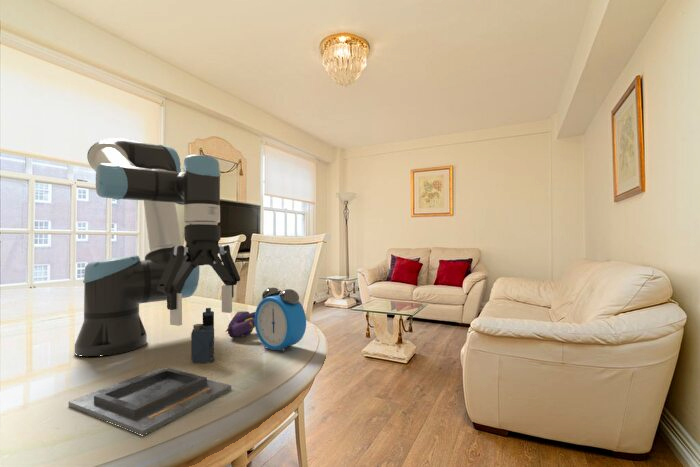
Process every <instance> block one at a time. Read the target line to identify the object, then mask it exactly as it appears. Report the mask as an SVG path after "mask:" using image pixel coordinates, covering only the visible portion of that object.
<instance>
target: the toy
mask: <svg viewBox="0 0 700 467" xmlns="http://www.w3.org/2000/svg"><path fill="white" fill-rule="evenodd" d="M255 312H256V311H254V312H251V313H250V311H243V310H242V311H237V312H236V313H235V314H234V316H233V318H231V320H230V322H229V323H228V325H227V329H226V330H225V331H224V332H225V333H226V332H227V334H228V336H229V337H230V338H232V339H238V338H239V339H240V338H243V337H244V336H249V335H251V333H252V332H253V330H254V329H256V328H255Z"/></svg>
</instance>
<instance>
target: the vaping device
mask: <svg viewBox="0 0 700 467" xmlns="http://www.w3.org/2000/svg"><path fill="white" fill-rule="evenodd" d="M214 318H215V311H213V310H212V308H211V307H206V308H205V311H203V312H202V323H196V324H193V328H192V332H191V333H190V335H191V336H190V342H191V343H190V345H191V346H190V348H191V349H190V350H191V351H190V353H191V354H190V355H191V357H190V358H191V359H190V360H191V361H192V363H193V364H195V363H196V364H210V363H212V362H214V361H215V319H214Z"/></svg>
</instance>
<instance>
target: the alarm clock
mask: <svg viewBox="0 0 700 467" xmlns="http://www.w3.org/2000/svg"><path fill="white" fill-rule="evenodd" d="M254 312H255V328H254V329H255V332H256V335H257V337H258V339H259V341H260V342H261V344H262V345H264V346H263V348H264V349H265V348H267V349H269V350H271V351H281V352H282V353H283V352H284V353H285V348H288V347H291V346H293V345H295V344H298V343H299V342H300V341H301V340H302V339H303V337H304V335H305V333H306V329H307V316H306V313H305V312H306V311H305V308H304V306H303V305H302V303H301V301H300V295H299V293H298V292H297V291H296V290H294V289H291V288H286V289H283V290H280V289H279V288H277V287H273V286H272V287H267V288H266V289H265V290H264V291H263V292H262V294H261V301H260V302H259V303H258V305H257V307H256V309H255V311H254Z"/></svg>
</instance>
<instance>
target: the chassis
mask: <svg viewBox="0 0 700 467" xmlns="http://www.w3.org/2000/svg"><path fill="white" fill-rule="evenodd" d="M229 391H232V385H231V384H228V383H223V382H219V381H216V380H212V379H208V377H205V376H202V375H199V374H193V373H189V372H186V371H181V370H177V369H174V368H169V367H167V368H162V367H159V368H157V369H154V370H152V371H151V370H150V371H149V372H145V373H143V374H140V375H138V376H135V377H132V378H129V379H127V380H123V381H120V382H118V383H115V384H113V385H109V386H107V387H104V388H101V389H99V390H97V391H94V392H91V393H89V394H86V395H82V396H79V397H77V398H75V399H71V400H69V401H68V408H69V407H70V408H71V407H72V409H75V410H76V411H79V412H80V413H81V412H82V413H84V414H86V413H87V414H86V415H89V414H90V415H89V416H91V415H92V416H91V417H93V416H94V417H93V418H96V417H97V418H96V419H98V418H100V419H99V420H101V419H103V420H105V421H104V422H106V421H108V422H111V423H113V424H116V425H119V426H121V427H123V428H126V429H128V430H131V431H133V432H136V433H138V434H141V435H145V434H146V433H149V432H151V431H153V430H155V429H156V430H158V429H160V428H162V427H163V425H164V426H165V424H166V425H167V423H168V424H170V423H172V422H173V421H175V420H177V419H179V418H181V417H182V416H185V415H186V414H188V413H190V412H192V411H194V410H196V409H197V408H199V407H202V406H203V405H205V404H207V403H209V402H211V401H212V400H215V399H217V398H219V397H220V396H223V395H225V394H226V393H228V392H229ZM103 420H102V421H103ZM108 422H107V423H108ZM169 422H170V423H169ZM111 423H110V424H111ZM113 424H112V425H113ZM161 426H162V427H161ZM159 427H160V428H159ZM123 428H122V429H123ZM157 428H158V429H157ZM128 430H127V431H128ZM156 430H155V431H156ZM133 432H132V433H133ZM153 432H154V431H153ZM151 433H152V432H151ZM149 434H150V433H149ZM145 436H146V435H145Z"/></svg>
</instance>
